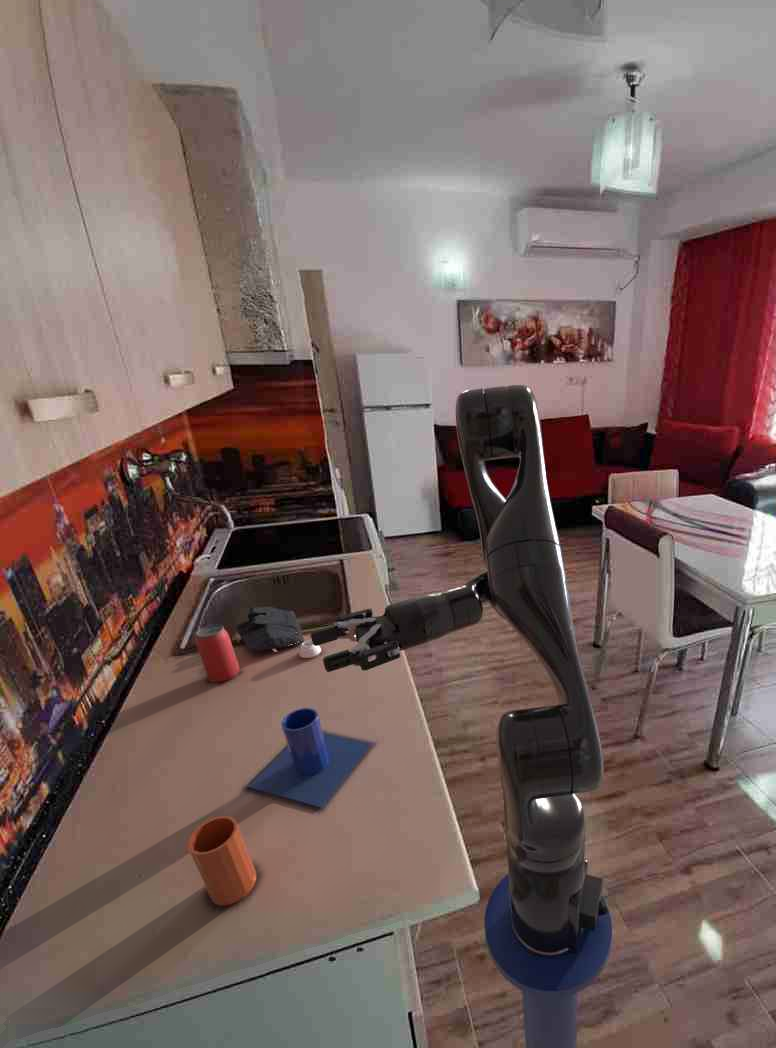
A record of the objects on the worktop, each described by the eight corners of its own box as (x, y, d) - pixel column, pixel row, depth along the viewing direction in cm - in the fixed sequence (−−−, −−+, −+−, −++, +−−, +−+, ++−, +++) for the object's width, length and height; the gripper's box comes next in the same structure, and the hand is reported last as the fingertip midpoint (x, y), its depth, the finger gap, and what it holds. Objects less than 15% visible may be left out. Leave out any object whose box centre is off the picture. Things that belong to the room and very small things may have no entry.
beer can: (245, 673, 118) (230, 628, 113) (216, 687, 114) (200, 641, 109) (232, 663, 122) (218, 620, 117) (204, 677, 118) (188, 632, 113)
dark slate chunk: (242, 663, 122) (236, 646, 120) (235, 626, 140) (231, 610, 138) (307, 644, 129) (303, 628, 127) (293, 611, 146) (290, 596, 144)
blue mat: (372, 744, 94) (371, 743, 94) (321, 808, 81) (320, 807, 81) (306, 729, 99) (305, 728, 99) (248, 787, 86) (247, 786, 86)
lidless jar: (323, 654, 124) (317, 646, 128) (321, 644, 123) (315, 635, 127) (303, 661, 122) (297, 652, 125) (300, 651, 120) (294, 642, 124)
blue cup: (330, 769, 89) (319, 724, 84) (295, 780, 87) (282, 734, 83) (327, 748, 94) (316, 704, 89) (294, 758, 92) (281, 713, 88)
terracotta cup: (265, 872, 72) (246, 821, 68) (233, 911, 67) (211, 860, 63) (234, 861, 74) (213, 811, 70) (200, 898, 69) (176, 847, 65)
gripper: (401, 584, 86) (302, 611, 79) (435, 617, 75) (323, 651, 68) (406, 623, 90) (312, 652, 82) (440, 659, 78) (334, 697, 71)
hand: (317, 651), depth 75 cm, fingers open, 8 cm apart
